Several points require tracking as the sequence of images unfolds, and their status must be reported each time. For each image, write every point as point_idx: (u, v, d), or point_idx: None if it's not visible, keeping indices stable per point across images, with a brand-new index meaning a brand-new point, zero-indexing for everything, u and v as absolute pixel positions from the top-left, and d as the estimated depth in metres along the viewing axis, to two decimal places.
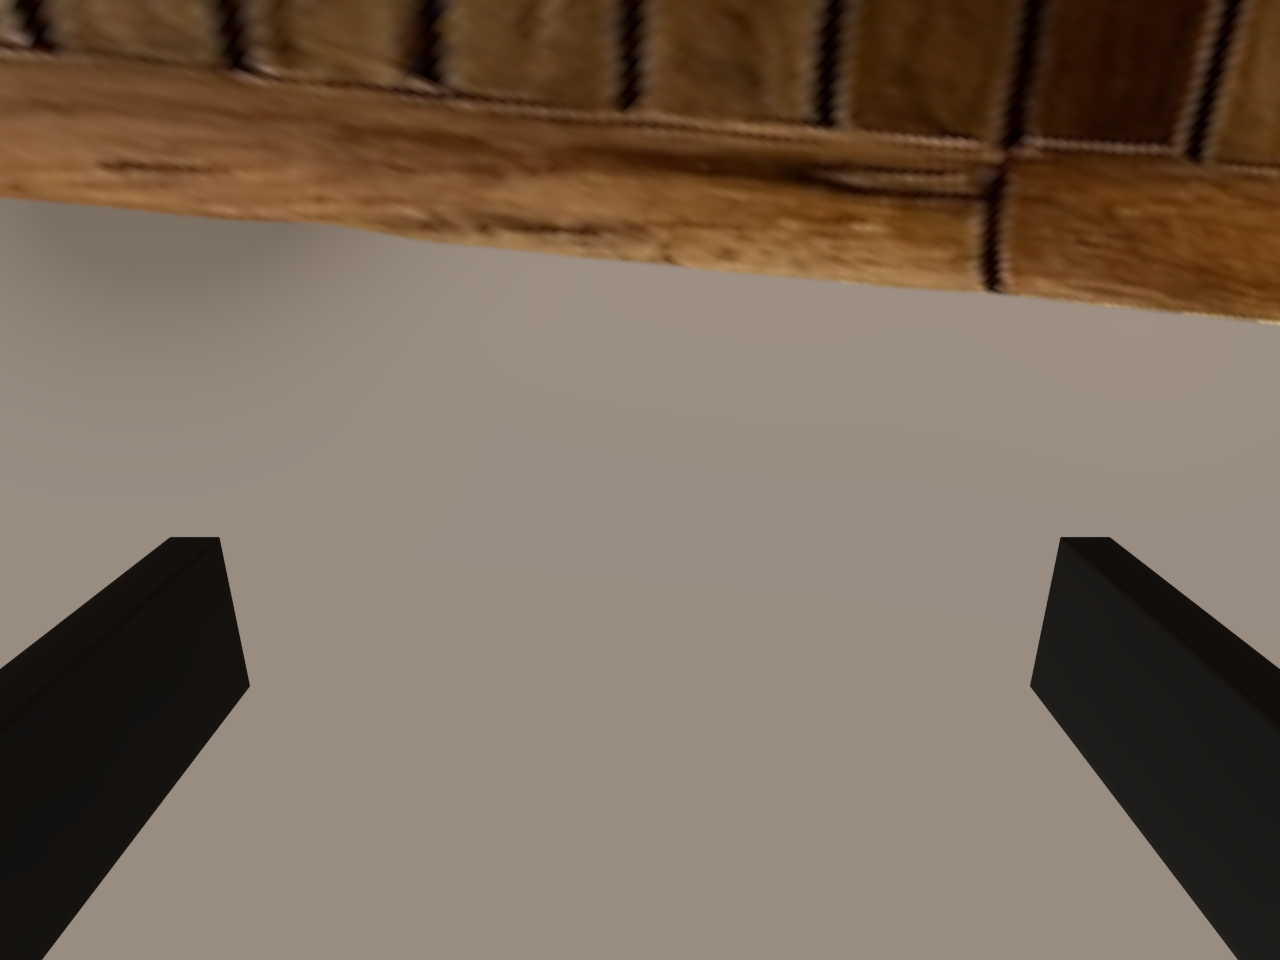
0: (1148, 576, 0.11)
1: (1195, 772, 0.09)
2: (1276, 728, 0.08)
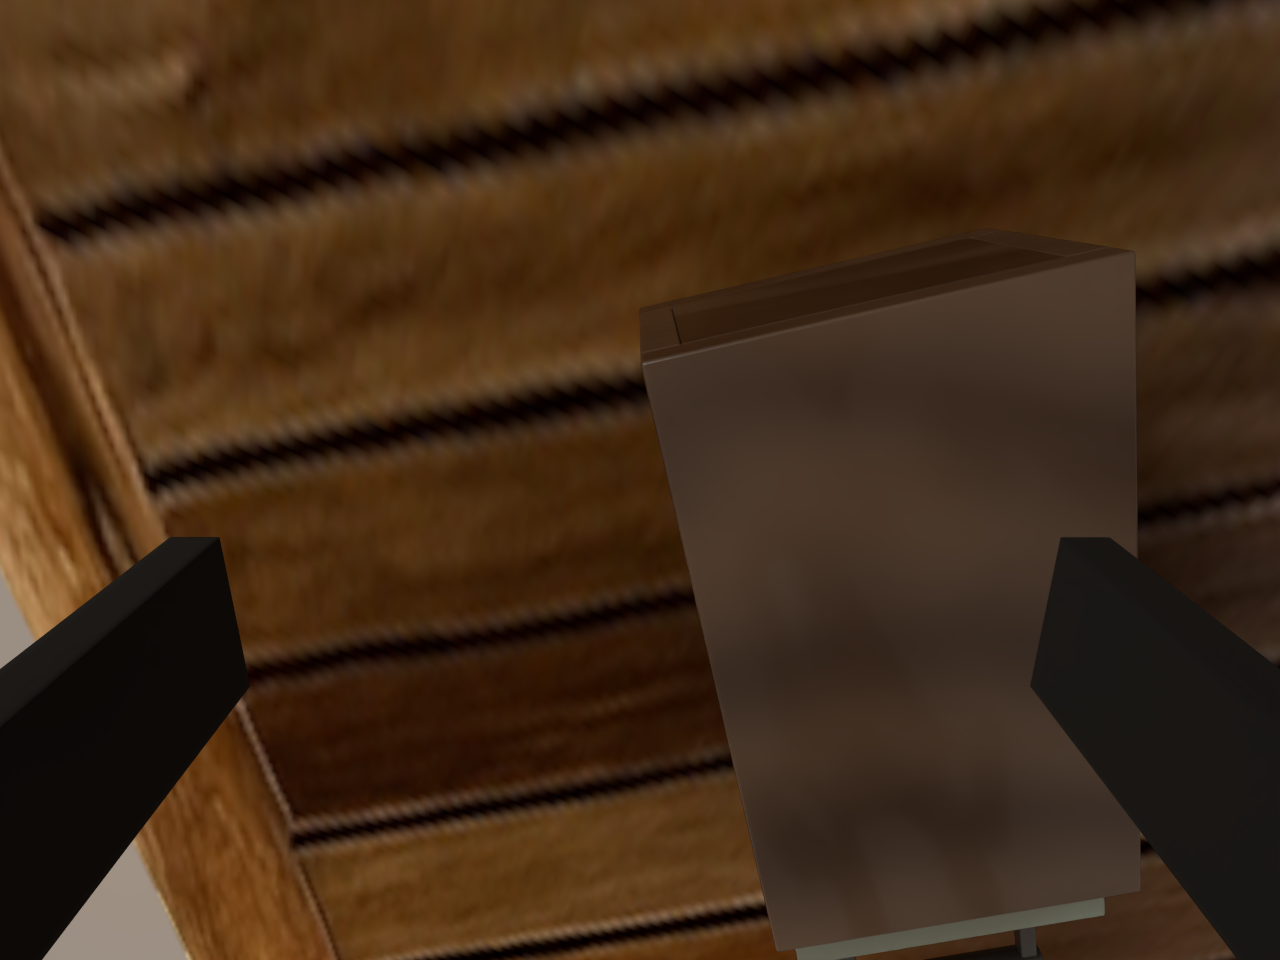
0: (1148, 576, 0.11)
1: (1195, 772, 0.09)
2: (1276, 728, 0.08)
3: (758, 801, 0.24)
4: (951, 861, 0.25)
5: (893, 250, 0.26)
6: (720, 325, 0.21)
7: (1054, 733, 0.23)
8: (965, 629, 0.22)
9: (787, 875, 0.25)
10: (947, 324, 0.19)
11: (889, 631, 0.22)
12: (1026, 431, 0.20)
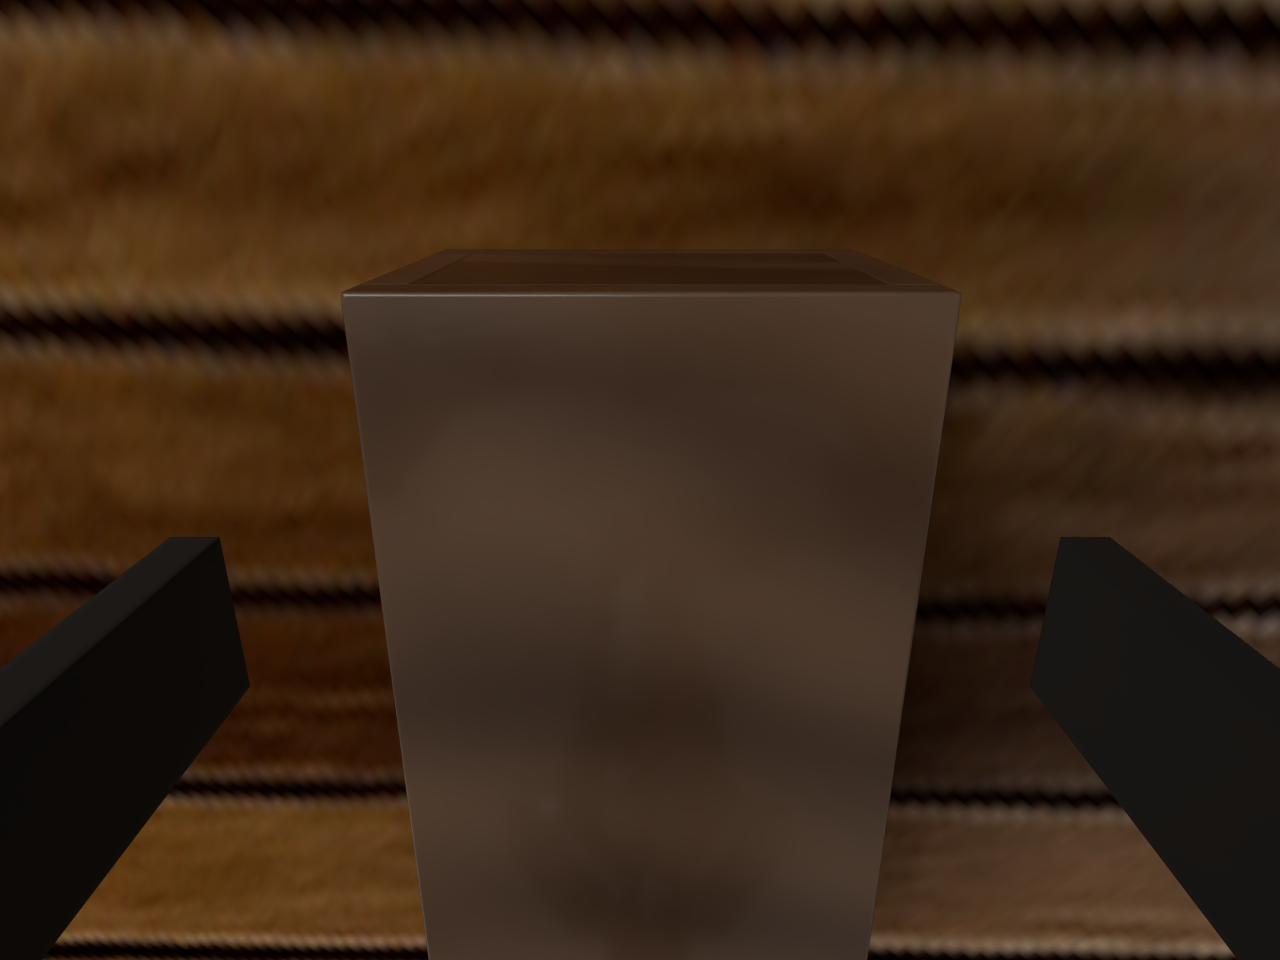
0: (1148, 576, 0.11)
1: (1195, 772, 0.09)
2: (1276, 728, 0.08)
3: (433, 853, 0.20)
4: None
5: (743, 250, 0.22)
6: (477, 276, 0.17)
7: (786, 839, 0.20)
8: (700, 702, 0.18)
9: (459, 943, 0.21)
10: (726, 331, 0.15)
11: (611, 687, 0.18)
12: (802, 483, 0.16)
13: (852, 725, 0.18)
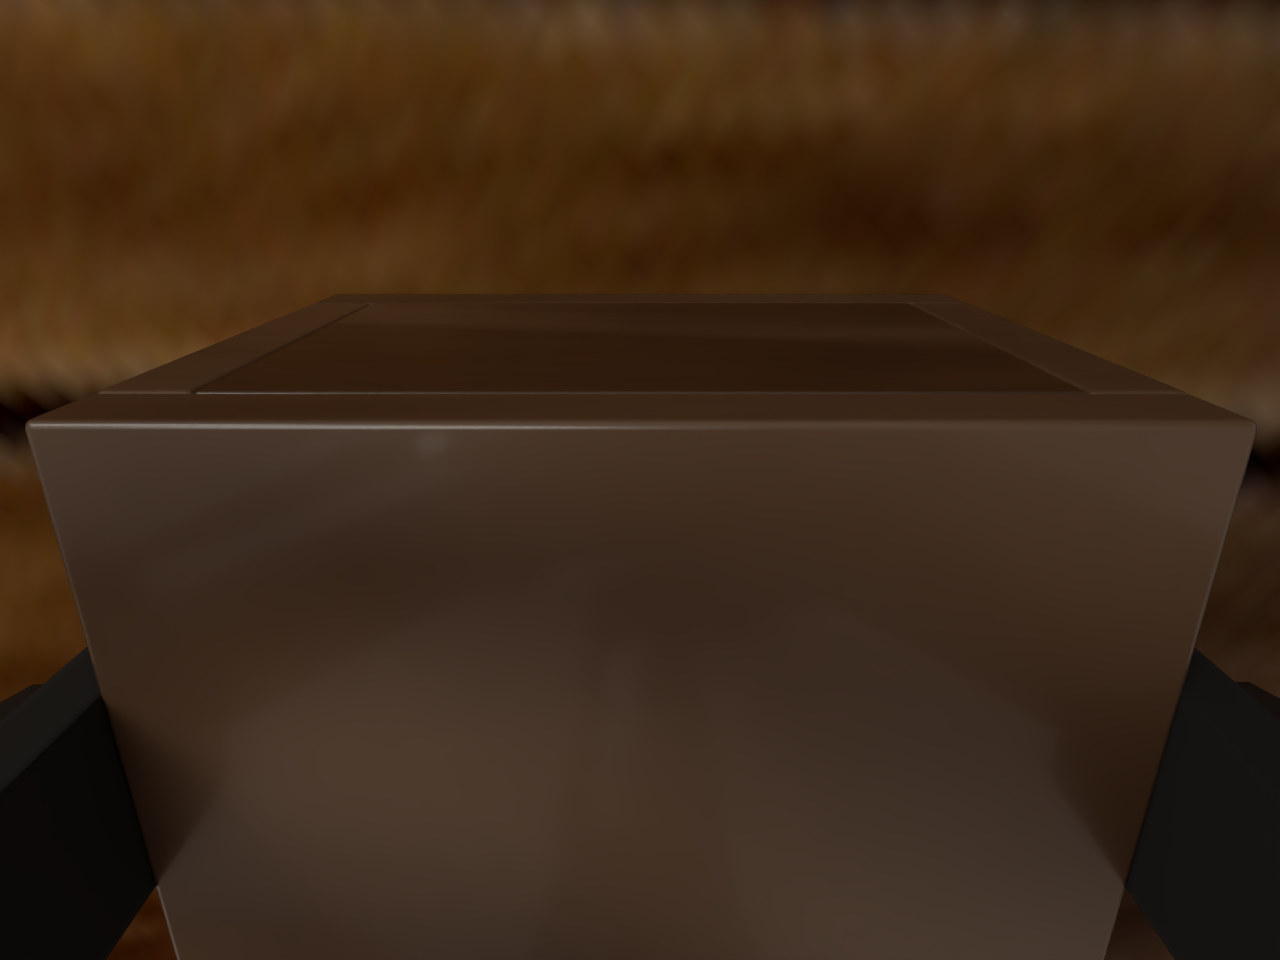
0: None
1: None
2: None
3: None
4: None
5: (782, 295, 0.15)
6: (334, 366, 0.09)
7: None
8: None
9: None
10: (789, 494, 0.08)
11: None
12: (922, 753, 0.09)
13: None
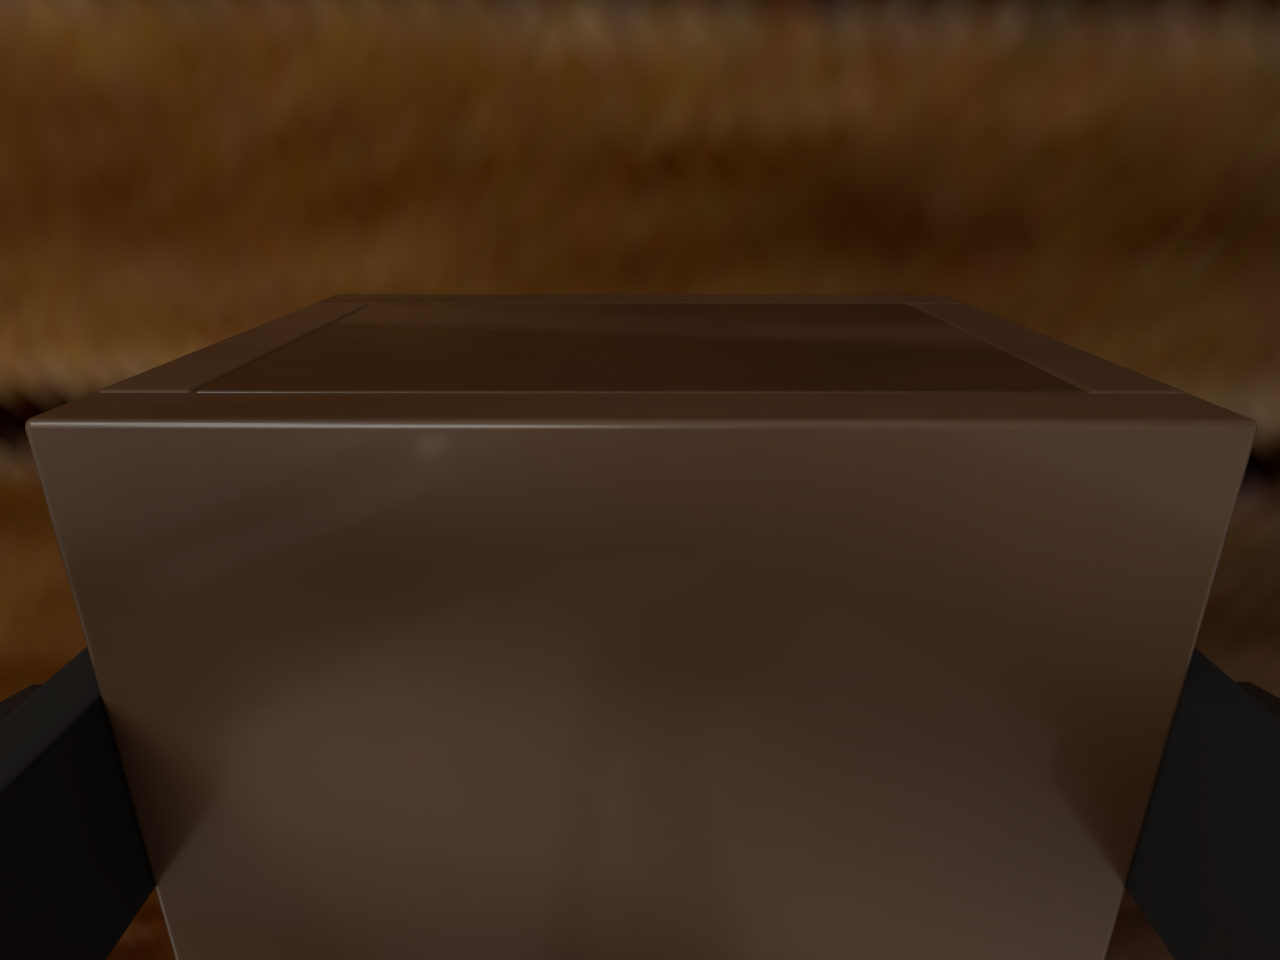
0: None
1: None
2: None
3: None
4: None
5: (782, 296, 0.15)
6: (334, 366, 0.09)
7: None
8: None
9: None
10: (790, 493, 0.08)
11: None
12: (922, 753, 0.09)
13: None
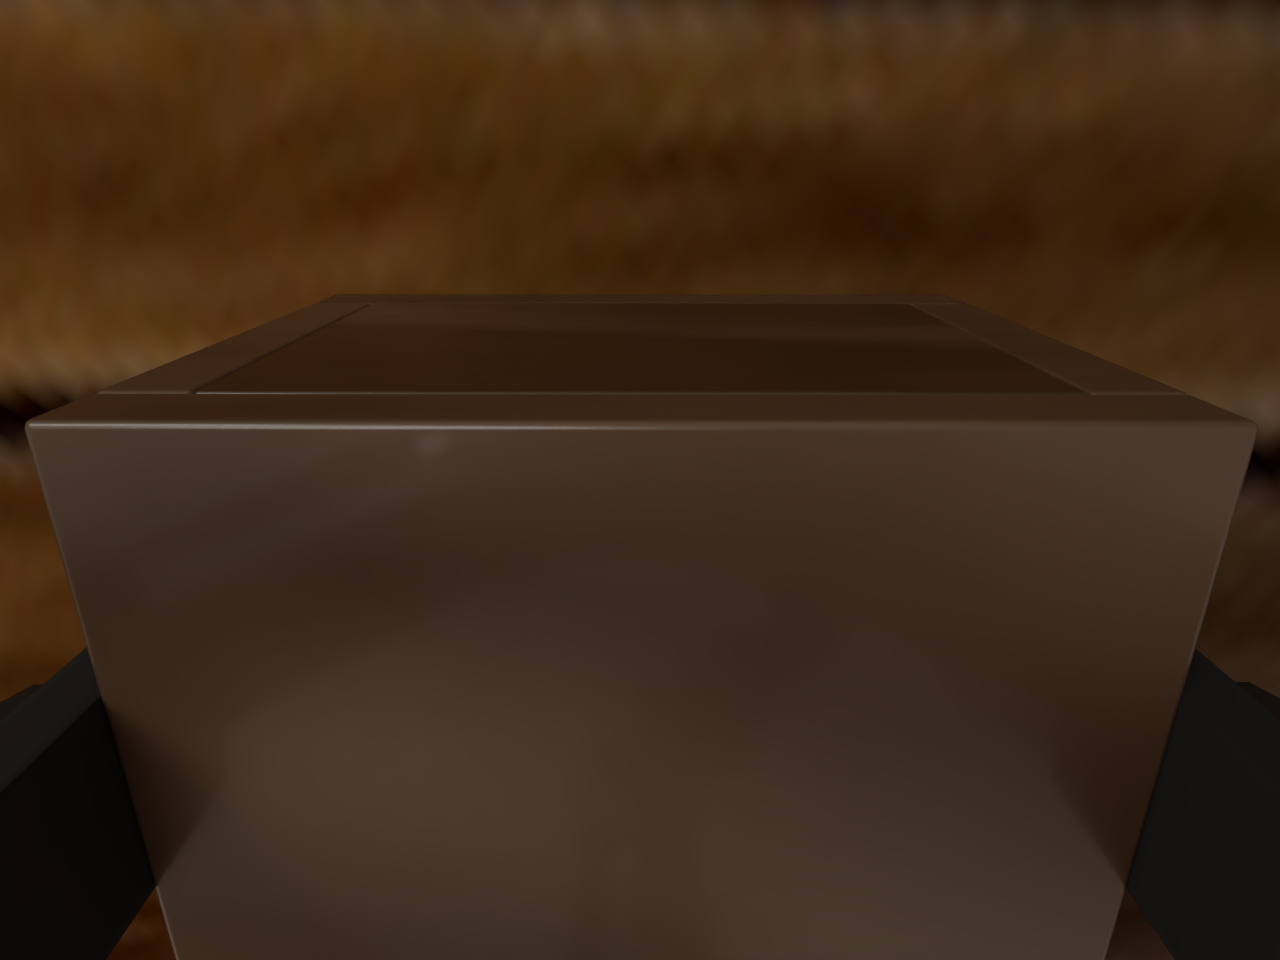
0: None
1: None
2: None
3: None
4: None
5: (783, 296, 0.15)
6: (334, 366, 0.09)
7: None
8: None
9: None
10: (790, 495, 0.08)
11: None
12: (922, 754, 0.09)
13: None
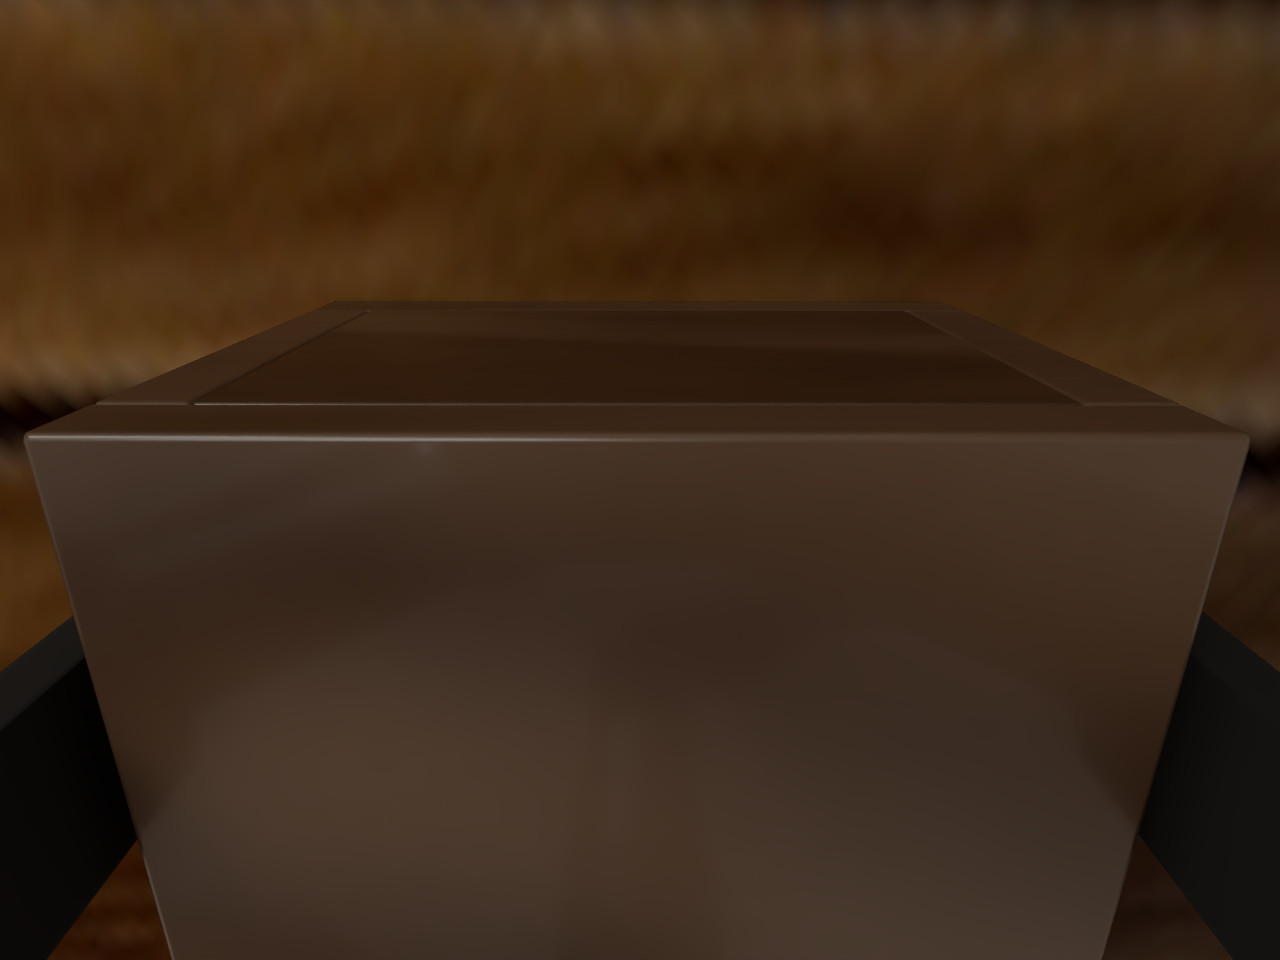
0: None
1: (1188, 770, 0.09)
2: (1269, 726, 0.08)
3: None
4: None
5: (779, 303, 0.15)
6: (331, 376, 0.09)
7: None
8: None
9: None
10: (785, 506, 0.08)
11: None
12: (918, 763, 0.09)
13: None
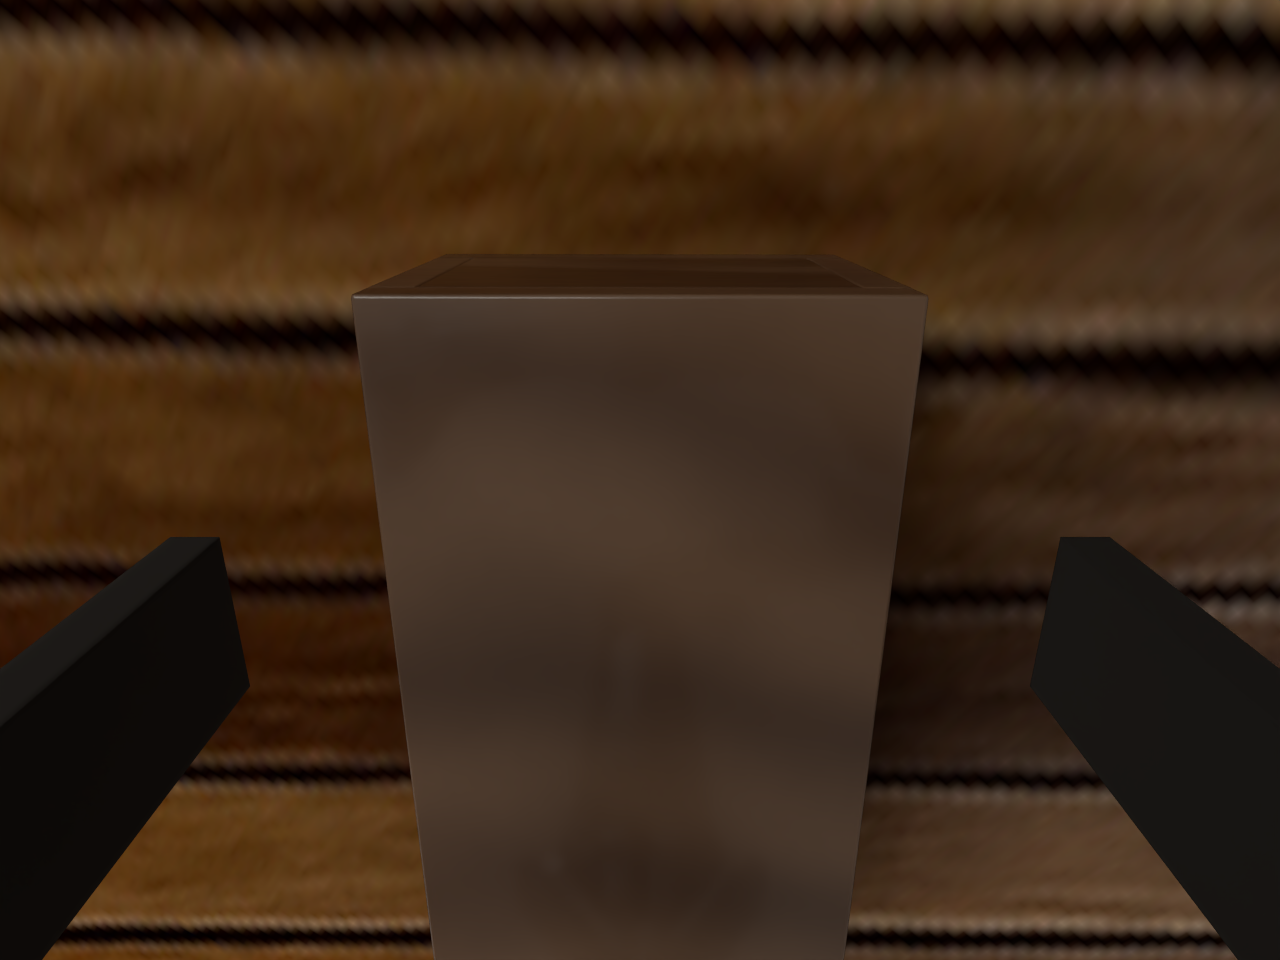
0: (1148, 576, 0.11)
1: (1194, 772, 0.09)
2: (1276, 728, 0.08)
3: (434, 827, 0.21)
4: (641, 930, 0.22)
5: (730, 255, 0.23)
6: (478, 279, 0.18)
7: (770, 813, 0.21)
8: (687, 681, 0.19)
9: (459, 914, 0.22)
10: (710, 331, 0.16)
11: (604, 667, 0.19)
12: (782, 473, 0.17)
13: (831, 703, 0.19)
